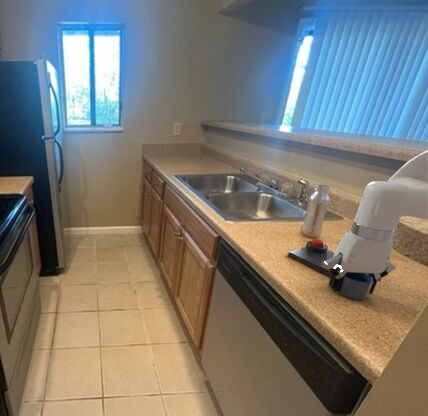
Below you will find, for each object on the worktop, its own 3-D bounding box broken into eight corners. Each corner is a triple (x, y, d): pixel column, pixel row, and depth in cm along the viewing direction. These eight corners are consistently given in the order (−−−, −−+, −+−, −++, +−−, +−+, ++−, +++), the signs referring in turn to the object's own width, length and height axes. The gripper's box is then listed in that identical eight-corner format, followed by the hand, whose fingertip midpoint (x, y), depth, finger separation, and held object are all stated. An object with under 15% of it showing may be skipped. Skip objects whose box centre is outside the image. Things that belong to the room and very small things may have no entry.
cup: (372, 296, 73) (379, 278, 71) (356, 303, 70) (363, 285, 68) (341, 281, 79) (347, 264, 77) (326, 287, 77) (331, 270, 75)
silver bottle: (320, 241, 102) (335, 189, 95) (298, 236, 106) (311, 186, 99) (320, 234, 107) (335, 185, 99) (299, 230, 111) (312, 182, 103)
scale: (367, 272, 83) (371, 262, 82) (341, 283, 78) (345, 273, 77) (311, 248, 97) (313, 239, 96) (286, 256, 92) (288, 247, 91)
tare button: (324, 246, 92) (325, 242, 91) (318, 248, 91) (320, 243, 90) (315, 243, 94) (316, 238, 94) (309, 244, 93) (311, 240, 93)
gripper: (397, 226, 71) (374, 283, 77) (324, 223, 73) (307, 279, 79) (425, 239, 64) (397, 301, 70) (343, 236, 66) (323, 296, 72)
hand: (349, 289), depth 75 cm, fingers closed on cup, 7 cm apart
